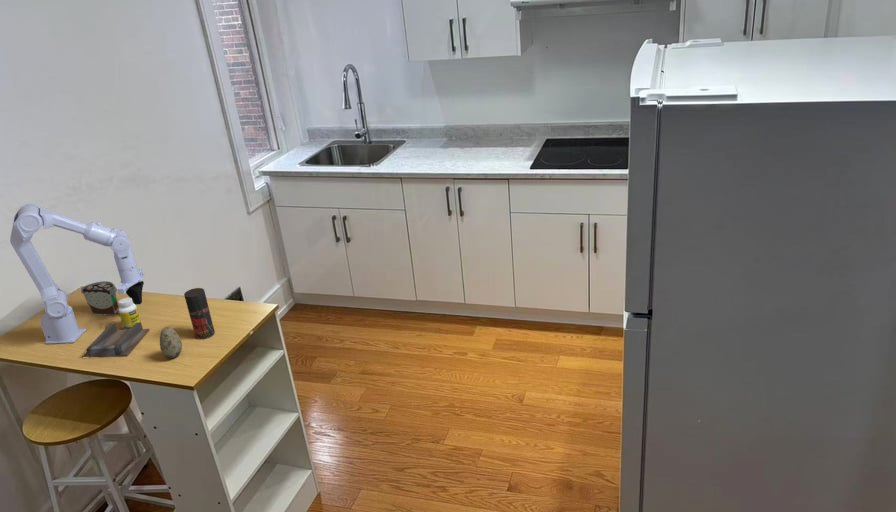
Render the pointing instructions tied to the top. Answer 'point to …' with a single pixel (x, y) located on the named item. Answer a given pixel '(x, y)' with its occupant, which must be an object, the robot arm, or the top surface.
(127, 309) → the supplement bottle
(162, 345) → the decorative egg
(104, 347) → the bottle rest
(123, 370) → the top surface
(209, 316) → the deodorant
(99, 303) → the food container
